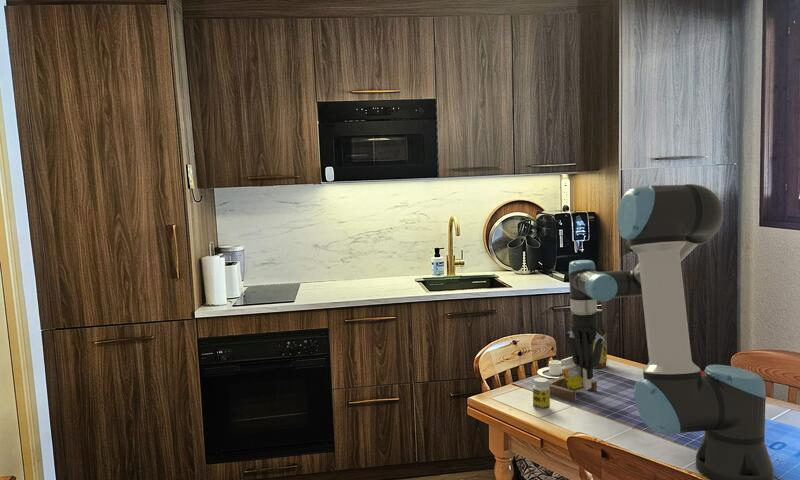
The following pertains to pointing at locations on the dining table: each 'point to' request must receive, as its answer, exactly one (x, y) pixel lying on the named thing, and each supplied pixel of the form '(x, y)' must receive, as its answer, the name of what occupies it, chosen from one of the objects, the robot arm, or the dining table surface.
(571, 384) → the supplement bottle
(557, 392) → the pocket
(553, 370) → the candle holder
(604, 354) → the sauce bottle
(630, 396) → the dining table surface
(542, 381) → the supplement bottle
